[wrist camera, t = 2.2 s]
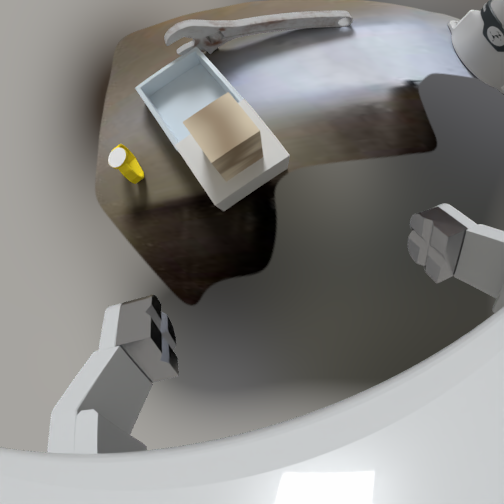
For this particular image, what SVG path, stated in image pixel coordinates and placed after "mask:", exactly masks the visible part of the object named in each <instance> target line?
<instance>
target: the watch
mask: <svg viewBox="0 0 504 504" xmlns="http://www.w3.org/2000/svg"><path fill="white" fill-rule="evenodd" d="M108 162H109V165H110V166H111V167H112V168H114V169H119V171H120V172H121V173H122V174H123V175H124V177H125V178H127V179H128V180H129V181H130V182H132V183H134V184H136V183H138V182H139V181H140V180H142V179H143V178H144V172H143V170H142V169H141V167H140V165H139V163H138V161H137V160H136V158H135V156H134V155H133V154H132V153H131V152H130V150H129V149H127V148H126V147H125V146H124V145H122V144H119V145H118V146H117V147H115V148H114V149H113V150H112V151H111V153H110V155H109V158H108Z"/></svg>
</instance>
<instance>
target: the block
mask: <svg viewBox="0 0 504 504" xmlns="http://www.w3.org/2000/svg"><path fill="white" fill-rule="evenodd" d="M183 124H184V125H185V127H186V128H187V129H188V131H189V132H190V134H191V135H192V136H193V138H194V139H195V141H196V142H197V143H198V145H199V146H200V148H201V149H202V150H203V152H204V153H205V155H206V156H207V158H208V159H209V160H210V162H211V163H212V164H213V166H214V167H215V168H216V170H217V171H218V172H219V173H220V175H221V176H222V177H223V178H224V180H225V181H226V182H227V181H228V180H230V179H231V178H233V177H234V176H236V175H237V174H238V173H240V172H241V171H243V170H244V169H246V168H247V167H249V166H250V165H252V164H253V163H255V162H256V161H258V160H259V159H261V158H262V157H263V149H262V141H261V134H260V130H259V129H258V127H257V126H256V125H255V124H254V122H253V121H252V120H251V119H250V117H249V116H248V115H247V114H246V112H245V111H244V110H243V109H242V108H241V106H240V105H239V104H238V103H237V102H236V100H235V99H234V98H233V97H232V96H231V94H230V93H229V92H228V93H226V94H224V95H223V96H221V97H220V98H218V99H216V100H215V101H213V102H212V103H210V104H209V105H207V106H206V107H204V108H202V109H201V110H199V111H198V112H197V113H195V114H194V115H192V116H191V117H189V118H188V119H186V120H185V121H183Z"/></svg>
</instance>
